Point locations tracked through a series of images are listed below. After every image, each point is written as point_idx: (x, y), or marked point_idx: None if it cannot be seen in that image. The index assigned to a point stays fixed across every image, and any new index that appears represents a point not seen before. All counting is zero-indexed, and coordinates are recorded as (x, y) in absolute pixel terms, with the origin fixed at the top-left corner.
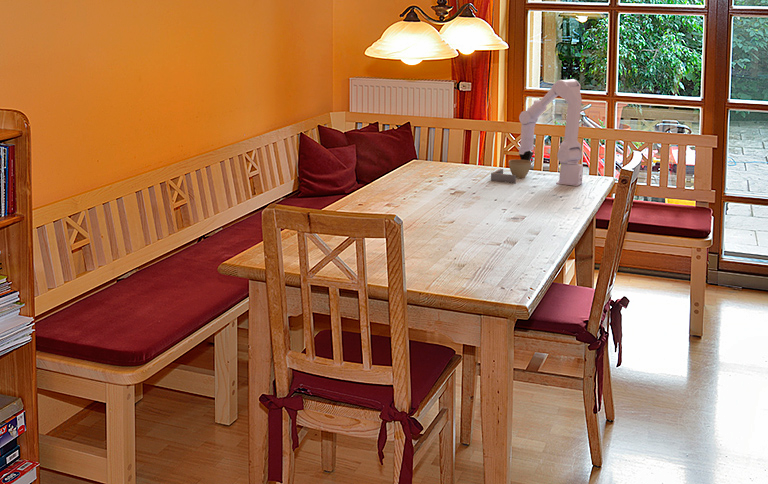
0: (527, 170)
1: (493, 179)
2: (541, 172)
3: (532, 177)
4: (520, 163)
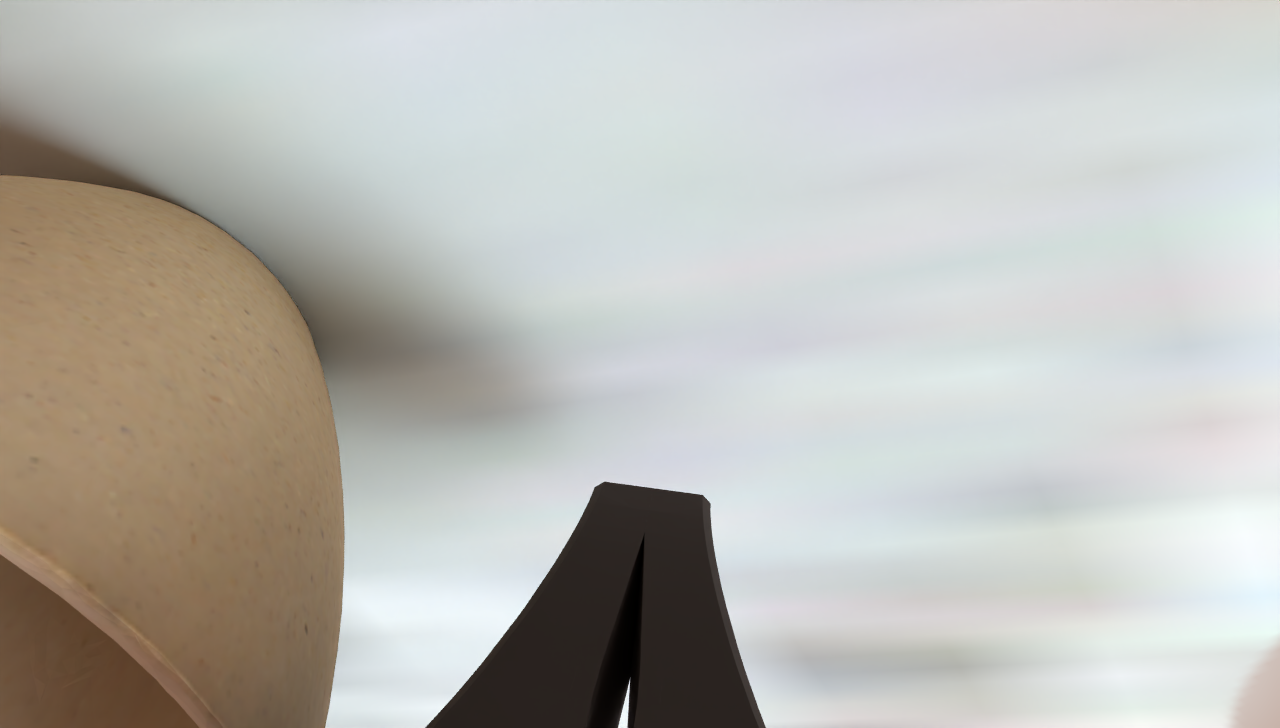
0: (6, 688)
1: None
2: (1150, 694)
3: (371, 591)
4: (269, 594)
